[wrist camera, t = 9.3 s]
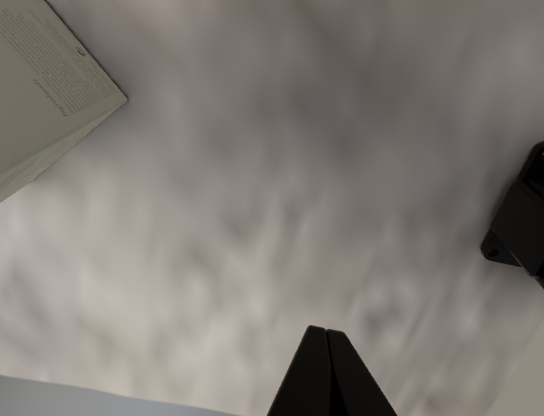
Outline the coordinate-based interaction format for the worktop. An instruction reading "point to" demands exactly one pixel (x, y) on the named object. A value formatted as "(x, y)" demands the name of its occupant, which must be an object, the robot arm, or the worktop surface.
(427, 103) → the worktop surface
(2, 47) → the small box
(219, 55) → the worktop surface
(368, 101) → the worktop surface
